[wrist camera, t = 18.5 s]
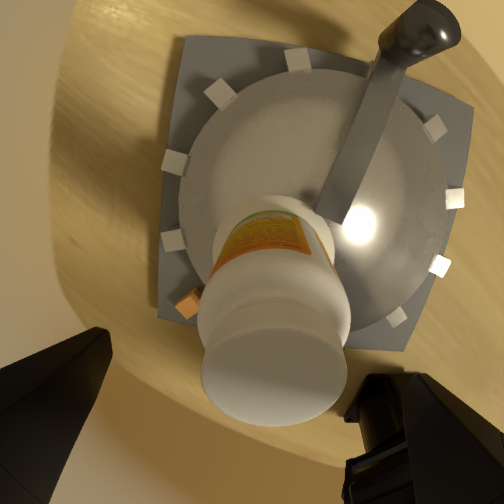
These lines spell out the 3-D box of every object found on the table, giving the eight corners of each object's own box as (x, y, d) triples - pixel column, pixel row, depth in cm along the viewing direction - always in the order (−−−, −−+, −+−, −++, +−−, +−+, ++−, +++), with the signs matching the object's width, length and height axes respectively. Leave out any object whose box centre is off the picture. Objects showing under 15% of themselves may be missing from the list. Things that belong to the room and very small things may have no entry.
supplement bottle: (205, 263, 17) (143, 388, 8) (263, 186, 15) (252, 252, 6) (280, 314, 18) (284, 455, 8) (341, 247, 16) (410, 365, 7)
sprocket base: (398, 344, 21) (406, 357, 20) (162, 310, 21) (154, 323, 20) (466, 108, 15) (480, 107, 13) (190, 40, 15) (182, 31, 13)
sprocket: (504, 174, 15) (566, 193, 8) (328, 376, 21) (340, 443, 15) (308, -17, 12) (322, -77, 6) (118, 239, 18) (61, 281, 12)
